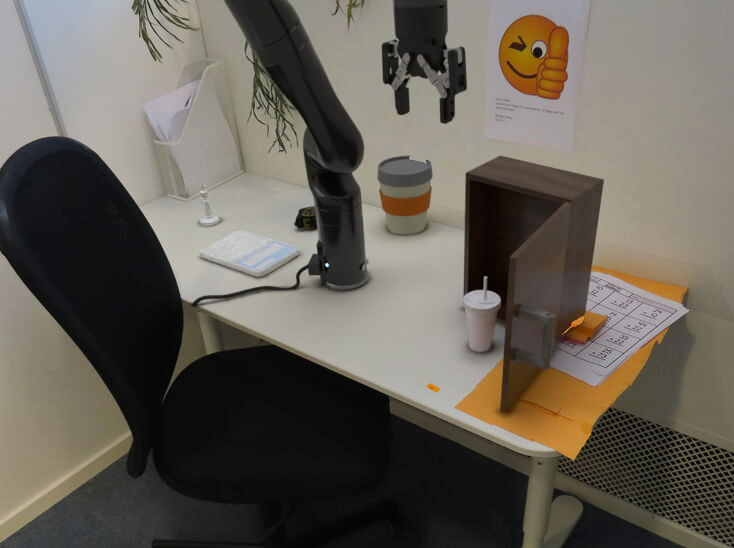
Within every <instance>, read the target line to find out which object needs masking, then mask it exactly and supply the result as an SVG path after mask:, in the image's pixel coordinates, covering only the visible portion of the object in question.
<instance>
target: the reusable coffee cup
mask: <svg viewBox="0 0 734 548" xmlns="http://www.w3.org/2000/svg"><path fill="white" fill-rule="evenodd" d="M410 156H411V155H398V156H393V157H392V156H391V157H388V158H387V159H386V158H385V159H383V160H381V161H380V162H379V163H378V165H377V181H378V183H379V189H378V190H379V191H378V192H379V198H380V203H381V209H382V211H383V212H384V214H385V220H386V225H387V229H388V231H389V232H390V233H393V234H396V235H401V236H408V235H409V236H410V235H416V234H418V233H420V232H423V231H424V230H425V229H426V225H427V217H428V210H429V209H430V206H431V198H432V189H433V187H432V185H431V181H432V179H433V177H434V176H433V175H434V174H433V167H432V162H431V160H429V159H428V160H426V162H427V163H424V162H420V161H415V160H410V159H409V157H410Z"/></svg>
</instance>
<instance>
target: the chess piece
mask: <svg viewBox="0 0 734 548" xmlns="http://www.w3.org/2000/svg"><path fill="white" fill-rule="evenodd" d="M206 188H207V185H204V183H203V182H201V183H200V185H198V189H201V190H199V195H200V196H201V198H202V199H201V201H200V202H201V203H203V206H204V215H203V216H202V217H201V218H200V219H199V224H200V225H201V226H204V227H211V226H214V225H217V224H219V223H220V222H221V219H220V217H219V216H218V215H216V214H213V213H212V210H211V208H210V205H209V202H211V199H210V198H209V197H208V194H209V193H208V192H209V191H208V189H206Z"/></svg>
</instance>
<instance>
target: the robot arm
mask: <svg viewBox="0 0 734 548" xmlns="http://www.w3.org/2000/svg"><path fill="white" fill-rule="evenodd" d="M223 2H224V4H225V6H226V7H227V9H228V11H229V13H230V14H231V16H232V17H233V19H234V21H235V22H236V24H237V25H238V27H239V29H240V30H241V33H242V34H243V36H244V38H245V40H246V42H247V44H248V46H249V48H250V49H251V51H252V53H253V55H254V56H255V58H256V60H257V62H258V64H259V65H260V67H261V68H262V70H263V71H264V73H265V74H266V76H267V77H268V78H269V80H270V81H271V82H272V84H273V85H275V87H276V88H277V89H278V91H279V92H280V93H281V94H282V95H283V97H284V98H285V99H286V100H287V101H288V103H290V105H291V106H292V107H293V108H294V109H295V110H296V112H297V113H298V115H299V116H300V118H301V119H302V120H303V122H304V124H305V125H306V127H305V129H304V132H303V137H302V152H303V160H304V165H305V172H306V178H307V183H308V187H309V190H310V192H311V195H312V197H313V204H314V206H315V212H316V220H317V227H316V228H317V236H318V240H317V242H316V253H312V255H311V257H310V258H309V260H308V263H307V264H306V265H304V266H302V267H301V268H299V270H298V271H297V272H296V274H295V281H296V282H295V284H293V285H292V286H289V287H281V286H274V285H261V286H254V287H251V288H247V289H242V290H239V291H236V292H235V291H234V292H231V293H227V294H207V295H202V296H199V297H197V298H196V299H195V300H194V301H193V302H192V303H191V305H190V307H195V306H196V305H198V304H199V303H200V302H202V301H205V300H224V299H230V298H235V297H238V296H242V295H246V294H250V293H255V292H257V291H258V292H259V291H266V290H267V291H293V290H296V289H297V288H299V287H300V285H301V279H300V276H301V274H302V273H303V272H304V271H306V270H307V272H308V273H307V274H308V276H318V277H319V278H320V286H322V287H327V288H329V289H332V290H337V291H347V290H353V289H357V288H359V287H361V286H363V285H364V284H365V283H366V282H368V278H369V275H368V265H369V258H367V254H366V241H365V240H366V239H365V228H364V227H365V226H364V215H363V202H362V191H361V187H360V185H359V183H358V182H357V180H356V178H355V176H354V174H353V173H354V172H355V171H357V170H358V168H359V167H360V166H361V164H362V162H363V161H364V157H365V142H364V138H363V136H362V133H361V131H360V129H359V128H358V127H357V125H356V124H355V122H354V121H353V119H352V117H351V115H350V114H349V112H348V111H347V109H346V108H345V107H344V105H343V104H342V102H341V100H340V98H339V97H338V95H337V93H336V92H335V89H334V87H333V86H332V83H331V81H330V78H329V76H328V74H327V72H326V70H325V68H324V66H323V64H322V61H321V60H320V58H319V55H318V54H317V52H316V50H315V47H314V45H313V43H312V40H311V38H310V36H309V34H308V32H307V30H306V28H305V26H304V24H303V22H302V20H301V18H300V17H299V14H298V13H297V11H296V9H295V7H294V6H293V4H292V3H291V2H290V1H289V0H223ZM392 7H393V8H392V10H393V24H394V26H393V27H394V37H395V38H394V39H391V40H388V41H385V42H382V44H381V68H382V82H383V84H384V85H389V86H391V88H392V90H393V94H394V107H395V111H396V113H397V115H398V116H404V115H407V114H409V113H410V110H411V107H410V104H411V103H410V88H409V87H407V86H408V85H409V84H410V81H411V79H412V77H413V78H416V77H419V78H421V79H426V80H427V79H428V81H429V82H430V84H431V85H432V86H434V87H435V88H436V90H437V92H438V94H439V95H440V97H439V99H438V100H439V122H440V124H443V125H446V124H449V123H451V122H452V121H453V120H454V118H455V116H456V95H458V94H460V93H463V92H466V91H467V89H468V82H467V81H468V80H467V79H468V78H467V62H466V61H467V60H466V59H467V58H466V49H465V47H464V46H458V47H455V48H452V47H450V48H449V47H448V46H447V42H446V37H447V35H448V32H449V18H448V17H449V16H448V15H449V14H448V12H449V11H448V10H449V9H448V0H392ZM400 61H401V62H400ZM439 72H440V74H438V73H439Z"/></svg>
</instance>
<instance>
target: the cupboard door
mask: <svg viewBox="0 0 734 548" xmlns="http://www.w3.org/2000/svg"><path fill="white" fill-rule="evenodd" d="M571 204H572V203H568V202H565V203H564V204H563V205H562V206H561V207H560V208H559V209H558V210H557V211H556V212H555V213H554V214H553V215H552V216H551V217H550V218H549V219H548V220H547V221H546V222H545V223H544V224H543V225H542V226H541V227H540V228H539V229H538V230H537V231H536V232H535V233H534V234H533V235H531V236H530V237H529V238H528V239H527V240H526V241H525V242H524V243H523V244H522V245H521V246H520V247H519V248H518V249H517V250H516V251H515V252H514V253H513V254H512V255H511V256H510V261H509V277H508V293H507V309H506V326H505V325H504V326H505V327H504V341H503V342H504V344H503V359H502V375H501V377H502V378H501V391H500V392H501V393H500V407H499V411H500V412H502V413H505V414H507V412H508V411H509V410H510V409H511V407H512V406H513V404H514V403H515V402H516V400H517V399H518V398H519V397H520V395H521V394H522V393H523V391H524V390H525V389H526V387H527V386H528V384H529V383H530V382H531V380H532V379H533V378H534V376H535V375H536V374H537V373H538V371H539V370H545V371H546V370H547V371H548V370H549V369H550V368H551V361H552V353H553V351H554V350H555V349H556V345H557V344H556V335H557V327H558V318H559V309H560V300H561V292H562V283H563V274H564V265H565V257H566V248H567V239H568V230H569V222H570V213H571ZM555 344H556V345H555Z"/></svg>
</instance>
